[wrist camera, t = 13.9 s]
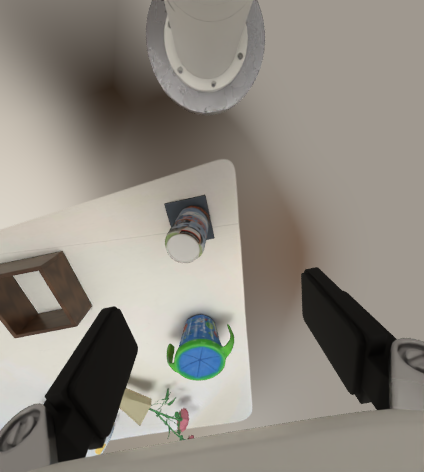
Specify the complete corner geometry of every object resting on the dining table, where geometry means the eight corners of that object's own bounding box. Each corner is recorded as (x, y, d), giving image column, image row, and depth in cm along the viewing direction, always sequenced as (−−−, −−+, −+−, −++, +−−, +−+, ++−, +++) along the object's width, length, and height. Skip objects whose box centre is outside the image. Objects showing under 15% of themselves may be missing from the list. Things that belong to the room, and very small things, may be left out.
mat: (164, 203, 38) (164, 204, 38) (205, 195, 38) (205, 195, 38) (176, 245, 42) (176, 246, 41) (214, 237, 41) (214, 238, 41)
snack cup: (225, 301, 48) (231, 336, 38) (235, 332, 51) (242, 372, 42) (163, 316, 48) (154, 355, 39) (177, 346, 52) (172, 388, 43)
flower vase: (112, 335, 60) (210, 397, 60) (90, 370, 60) (188, 431, 60) (89, 360, 48) (211, 436, 48) (61, 403, 48) (183, 479, 48)
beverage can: (215, 216, 39) (220, 239, 28) (193, 243, 41) (190, 275, 30) (189, 196, 38) (184, 213, 26) (167, 226, 40) (154, 253, 28)
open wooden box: (0, 263, 41) (-32, 280, 36) (62, 251, 41) (40, 265, 35) (36, 316, 47) (14, 338, 41) (92, 306, 46) (77, 326, 41)
